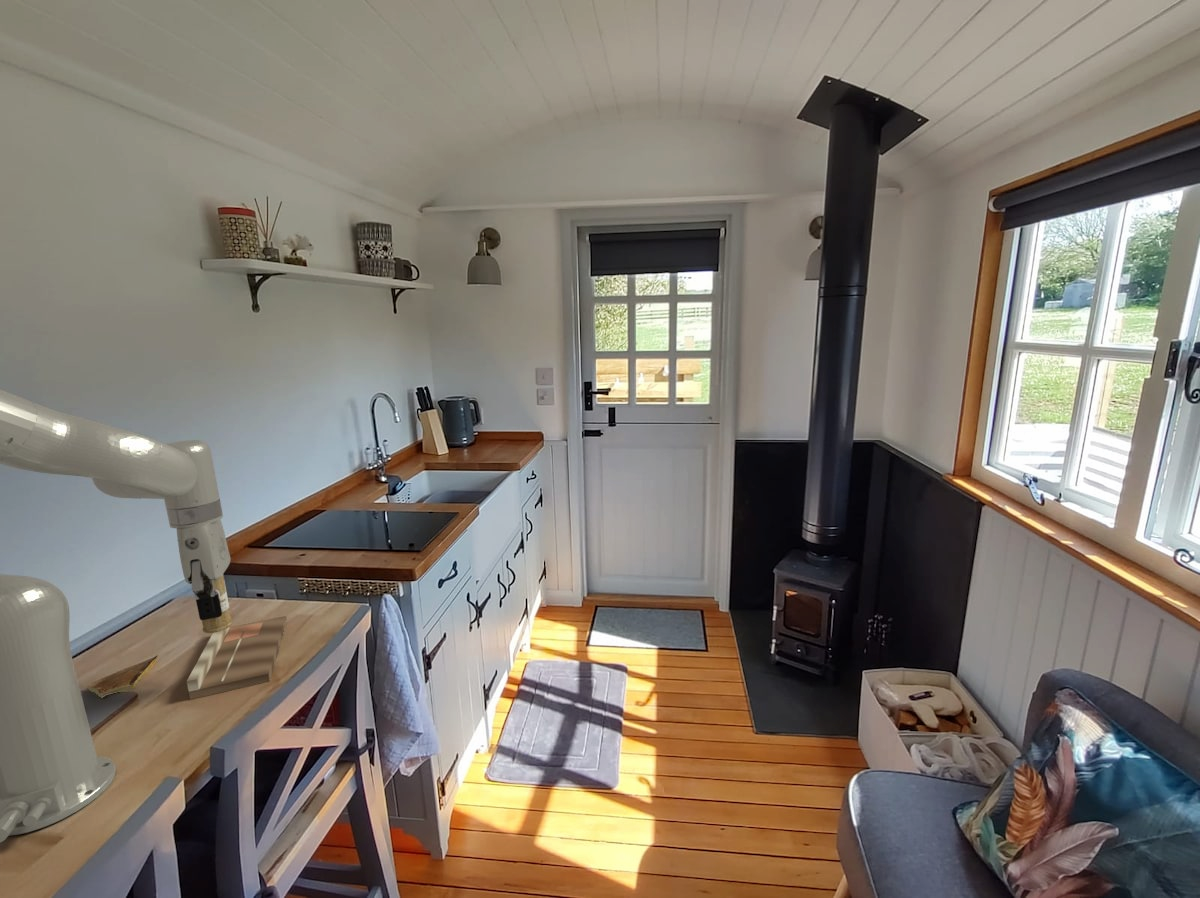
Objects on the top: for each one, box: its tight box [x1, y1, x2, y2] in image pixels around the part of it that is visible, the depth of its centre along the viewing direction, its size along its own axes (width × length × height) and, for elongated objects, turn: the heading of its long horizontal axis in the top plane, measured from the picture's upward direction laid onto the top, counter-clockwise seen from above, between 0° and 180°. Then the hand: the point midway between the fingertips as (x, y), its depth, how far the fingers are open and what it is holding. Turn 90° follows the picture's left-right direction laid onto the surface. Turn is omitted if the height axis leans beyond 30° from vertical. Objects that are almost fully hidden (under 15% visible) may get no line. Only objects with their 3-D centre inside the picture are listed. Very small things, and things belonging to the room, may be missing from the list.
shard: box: [87, 655, 159, 697], centre depth 103 cm, size 11×8×2 cm
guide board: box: [186, 615, 288, 700], centre depth 109 cm, size 24×12×4 cm, turn 22°
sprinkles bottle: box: [201, 574, 233, 634], centre depth 99 cm, size 5×5×14 cm
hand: (214, 610), depth 99 cm, fingers closed on sprinkles bottle, 4 cm apart
